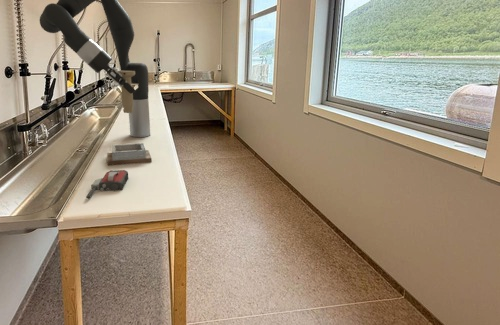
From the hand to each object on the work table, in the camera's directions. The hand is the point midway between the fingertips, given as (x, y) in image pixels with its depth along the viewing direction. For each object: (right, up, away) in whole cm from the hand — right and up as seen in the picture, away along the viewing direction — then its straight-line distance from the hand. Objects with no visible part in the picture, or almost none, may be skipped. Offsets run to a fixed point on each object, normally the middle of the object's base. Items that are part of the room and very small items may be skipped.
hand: (132, 91), depth 139 cm
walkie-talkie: (+2, -34, -27) cm, 44 cm away
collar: (-2, -24, +1) cm, 24 cm away
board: (-2, -25, +1) cm, 25 cm away
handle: (-2, -8, +1) cm, 8 cm away
